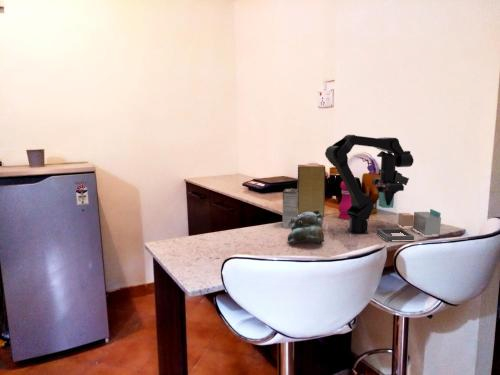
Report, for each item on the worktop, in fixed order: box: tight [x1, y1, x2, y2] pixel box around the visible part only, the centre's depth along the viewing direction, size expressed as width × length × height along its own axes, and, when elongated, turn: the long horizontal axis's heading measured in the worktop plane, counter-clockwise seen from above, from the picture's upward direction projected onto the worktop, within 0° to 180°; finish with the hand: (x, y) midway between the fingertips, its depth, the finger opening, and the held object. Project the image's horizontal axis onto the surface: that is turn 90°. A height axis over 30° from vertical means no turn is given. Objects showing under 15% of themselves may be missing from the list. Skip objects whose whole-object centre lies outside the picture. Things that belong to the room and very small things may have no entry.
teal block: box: [378, 192, 395, 209], centre depth 154 cm, size 4×4×6 cm
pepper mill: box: [338, 180, 352, 220], centre depth 175 cm, size 7×7×20 cm
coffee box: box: [282, 188, 299, 229], centre depth 162 cm, size 9×6×16 cm
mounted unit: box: [413, 208, 442, 235], centre depth 149 cm, size 6×10×10 cm, turn 1°
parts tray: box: [376, 228, 415, 241], centre depth 144 cm, size 10×10×2 cm
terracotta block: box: [397, 212, 414, 227], centre depth 159 cm, size 4×4×6 cm
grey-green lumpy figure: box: [287, 210, 325, 245], centre depth 139 cm, size 15×12×14 cm
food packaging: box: [296, 164, 326, 218], centre depth 181 cm, size 13×9×25 cm
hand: (385, 204), depth 155 cm, fingers closed on teal block, 4 cm apart
